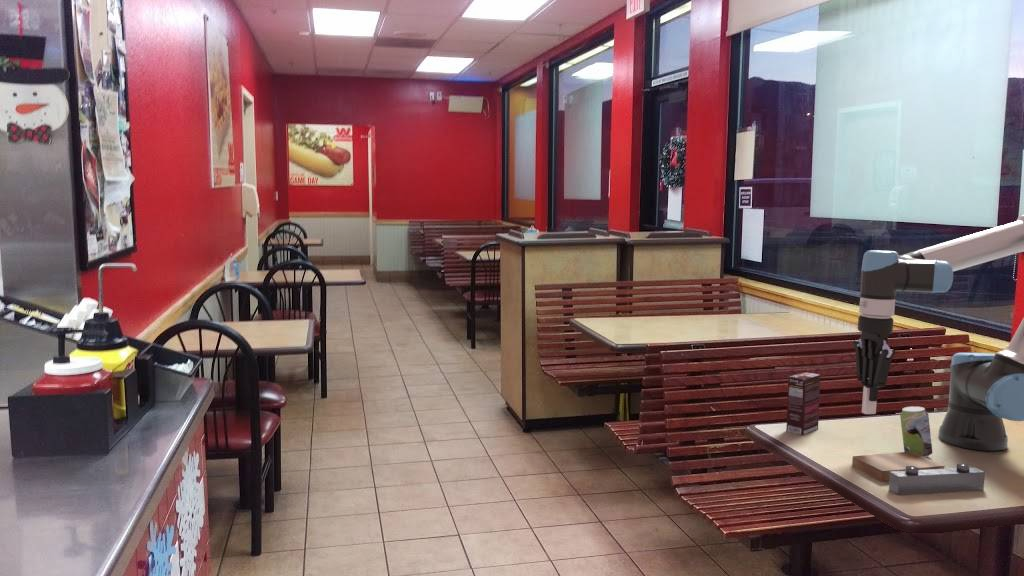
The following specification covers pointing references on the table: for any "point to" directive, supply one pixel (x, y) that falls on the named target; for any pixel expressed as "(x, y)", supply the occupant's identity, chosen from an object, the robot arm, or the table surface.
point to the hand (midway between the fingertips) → (868, 413)
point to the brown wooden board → (892, 464)
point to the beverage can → (916, 430)
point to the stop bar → (936, 480)
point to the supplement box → (803, 403)
